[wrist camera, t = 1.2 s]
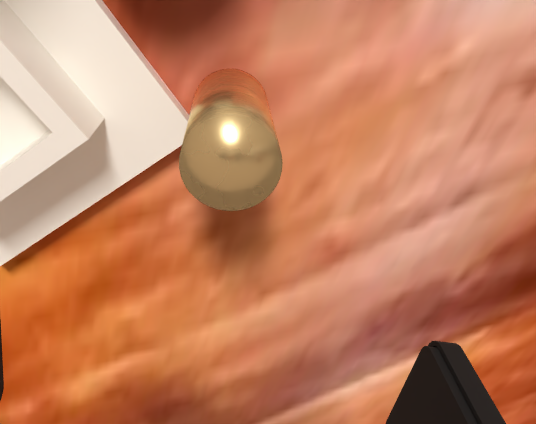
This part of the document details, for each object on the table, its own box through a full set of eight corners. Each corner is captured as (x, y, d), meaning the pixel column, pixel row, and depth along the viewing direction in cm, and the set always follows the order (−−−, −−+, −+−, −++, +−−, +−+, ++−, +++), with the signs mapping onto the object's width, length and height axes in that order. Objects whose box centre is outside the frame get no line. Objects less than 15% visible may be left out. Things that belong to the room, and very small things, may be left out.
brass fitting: (281, 116, 29) (301, 177, 21) (221, 154, 30) (219, 227, 22) (240, 53, 27) (244, 94, 19) (177, 96, 28) (157, 153, 20)
